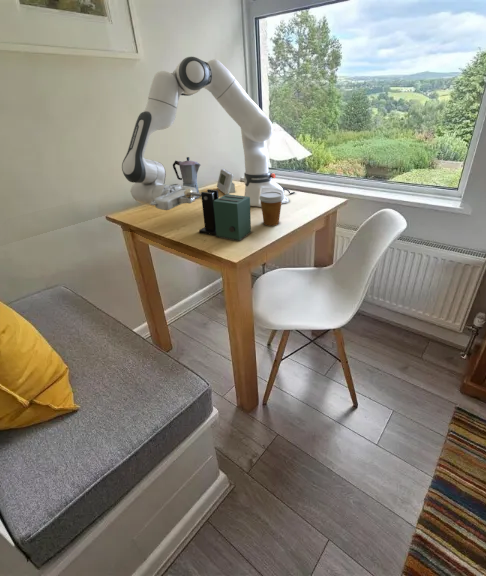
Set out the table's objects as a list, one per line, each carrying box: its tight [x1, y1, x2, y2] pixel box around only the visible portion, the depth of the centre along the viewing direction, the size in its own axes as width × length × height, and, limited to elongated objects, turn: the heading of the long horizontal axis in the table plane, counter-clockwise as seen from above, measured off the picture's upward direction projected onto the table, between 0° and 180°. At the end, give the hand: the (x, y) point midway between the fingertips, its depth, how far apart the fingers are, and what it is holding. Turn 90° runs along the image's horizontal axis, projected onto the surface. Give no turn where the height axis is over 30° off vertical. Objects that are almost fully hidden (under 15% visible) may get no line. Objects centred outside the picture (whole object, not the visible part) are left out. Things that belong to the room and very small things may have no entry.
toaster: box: [213, 193, 252, 242], centre depth 121 cm, size 10×10×14 cm
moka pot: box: [172, 156, 202, 200], centre depth 165 cm, size 10×15×20 cm, turn 78°
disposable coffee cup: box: [259, 192, 283, 227], centre depth 132 cm, size 10×10×12 cm
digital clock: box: [216, 168, 236, 195], centre depth 176 cm, size 16×9×11 cm, turn 11°
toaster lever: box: [184, 189, 215, 200], centre depth 124 cm, size 13×3×3 cm, turn 63°
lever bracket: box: [199, 188, 220, 237], centre depth 125 cm, size 8×8×16 cm
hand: (192, 200), depth 126 cm, fingers closed, pressing on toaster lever
